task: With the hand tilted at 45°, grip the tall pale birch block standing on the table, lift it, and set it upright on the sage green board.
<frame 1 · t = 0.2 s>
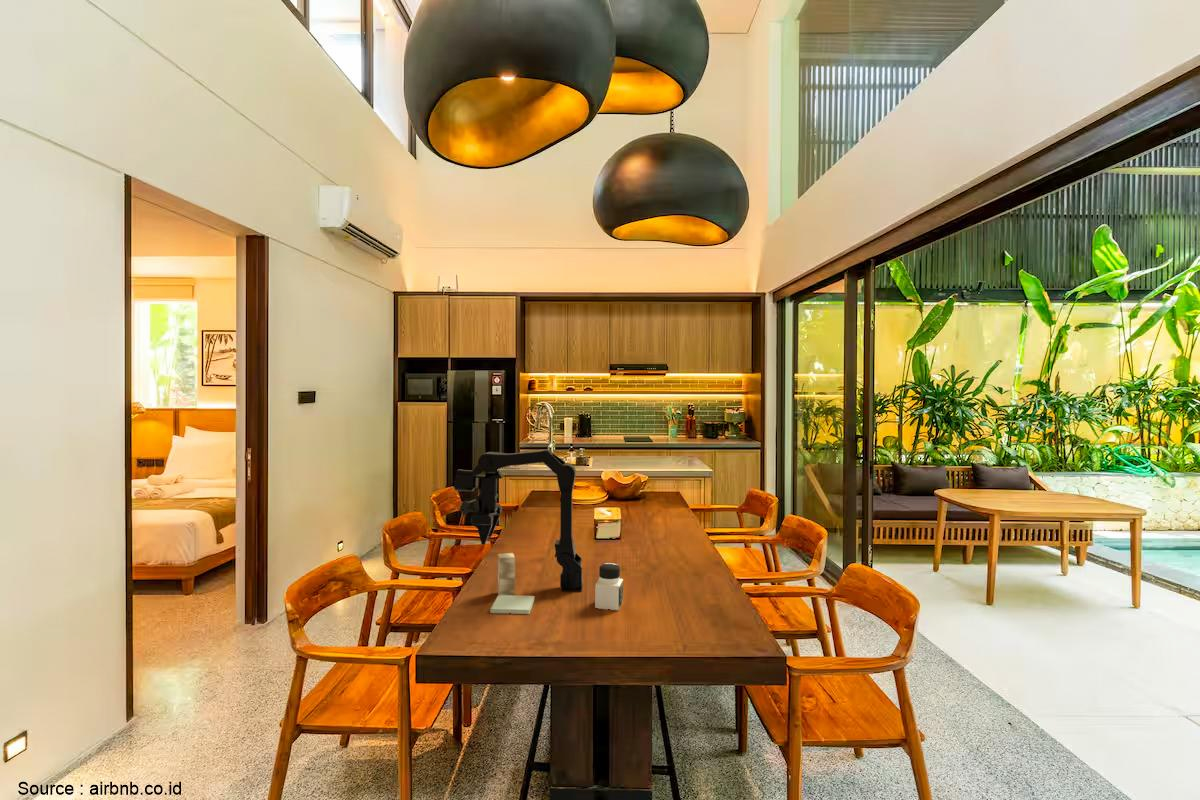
hand: (486, 540, 185), 15 cm above the table, tool pointing down, fingers open, 9 cm apart
medicine bottle: (609, 606, 171), on the table
birch block: (506, 594, 179), on the table
board: (513, 606, 169), on the table
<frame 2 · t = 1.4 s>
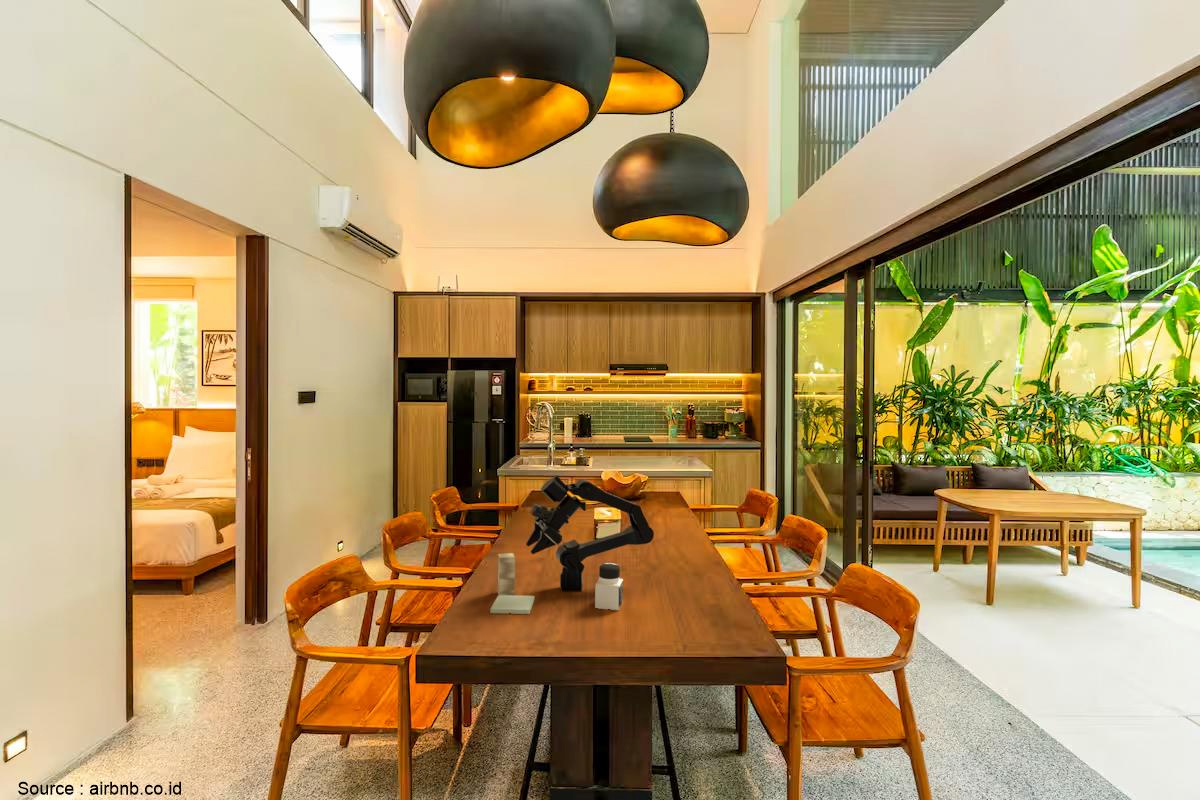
hand: (529, 549, 181), 13 cm above the table, tool tilted 45°, fingers open, 9 cm apart
nothing on the table moved.
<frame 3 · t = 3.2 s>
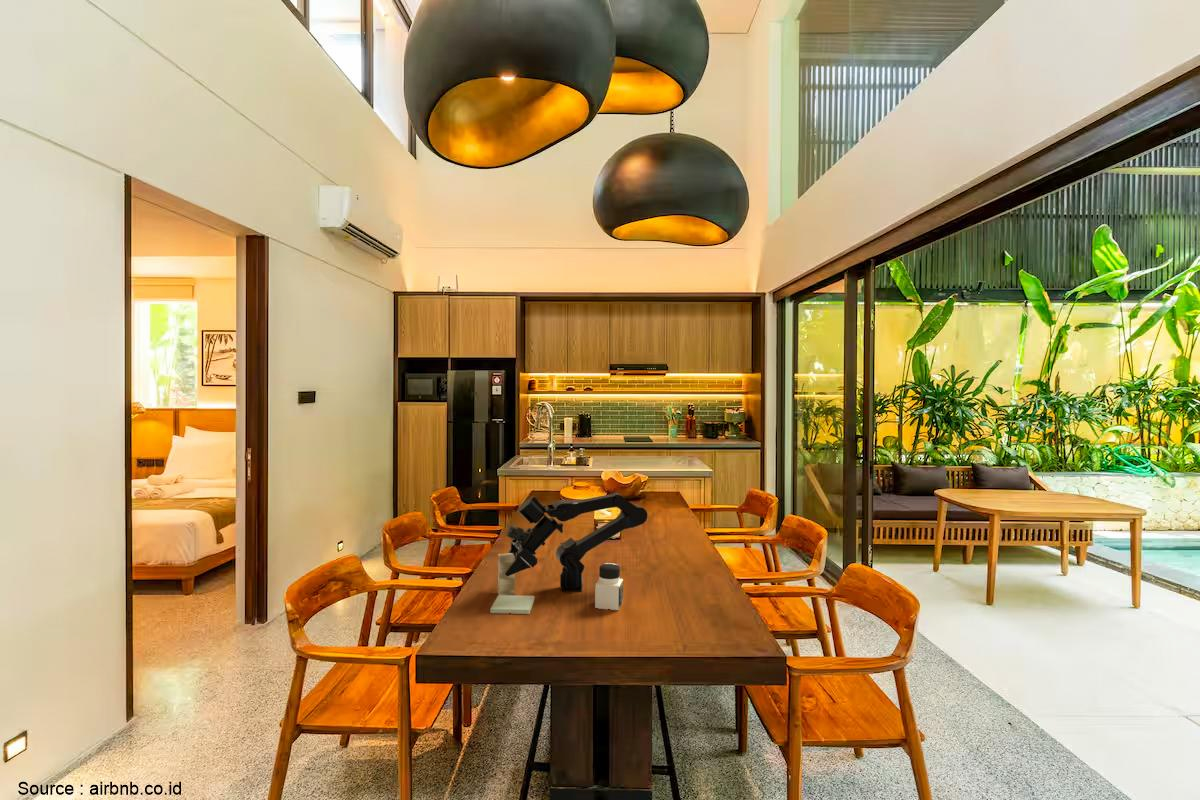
hand: (504, 570, 179), 7 cm above the table, tool tilted 45°, fingers open, 9 cm apart
nothing on the table moved.
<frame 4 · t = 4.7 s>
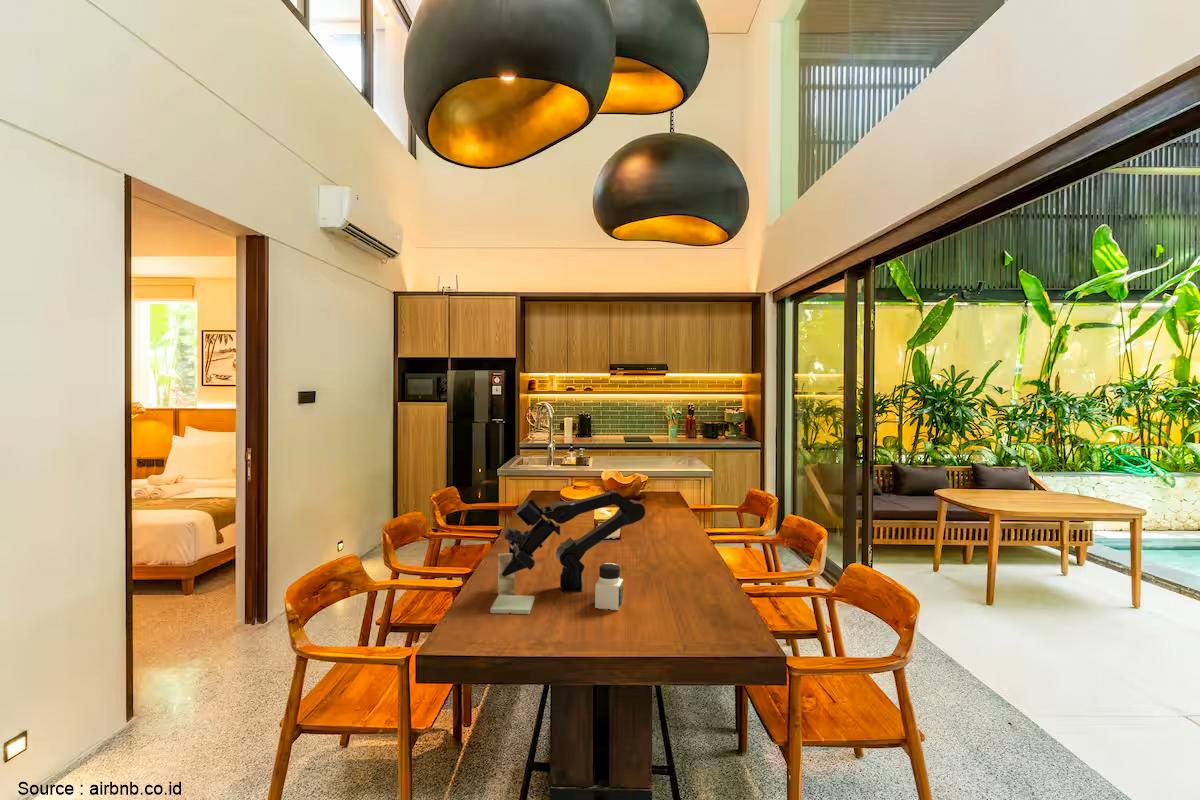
hand: (501, 573, 178), 7 cm above the table, tool tilted 45°, fingers closed on birch block, 5 cm apart
birch block: (506, 594, 179), on the table, touching gripper
everything else where it was.
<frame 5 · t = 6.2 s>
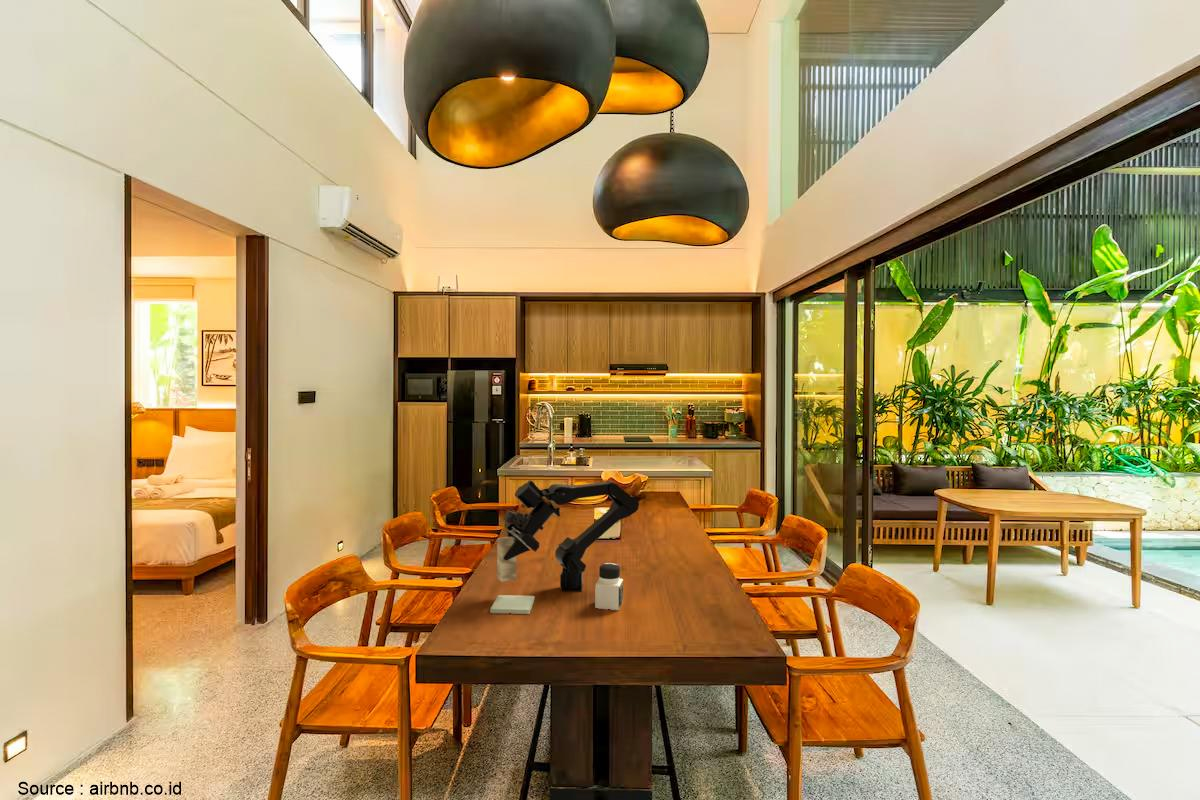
hand: (502, 557, 175), 13 cm above the table, tool tilted 45°, fingers closed on birch block, 5 cm apart
birch block: (506, 578, 175), point 6 cm above the table, touching gripper
everything else where it was.
when the fingers open (9 cm above the table, at t = 8.0 s): birch block drops 1 cm, resting on board.
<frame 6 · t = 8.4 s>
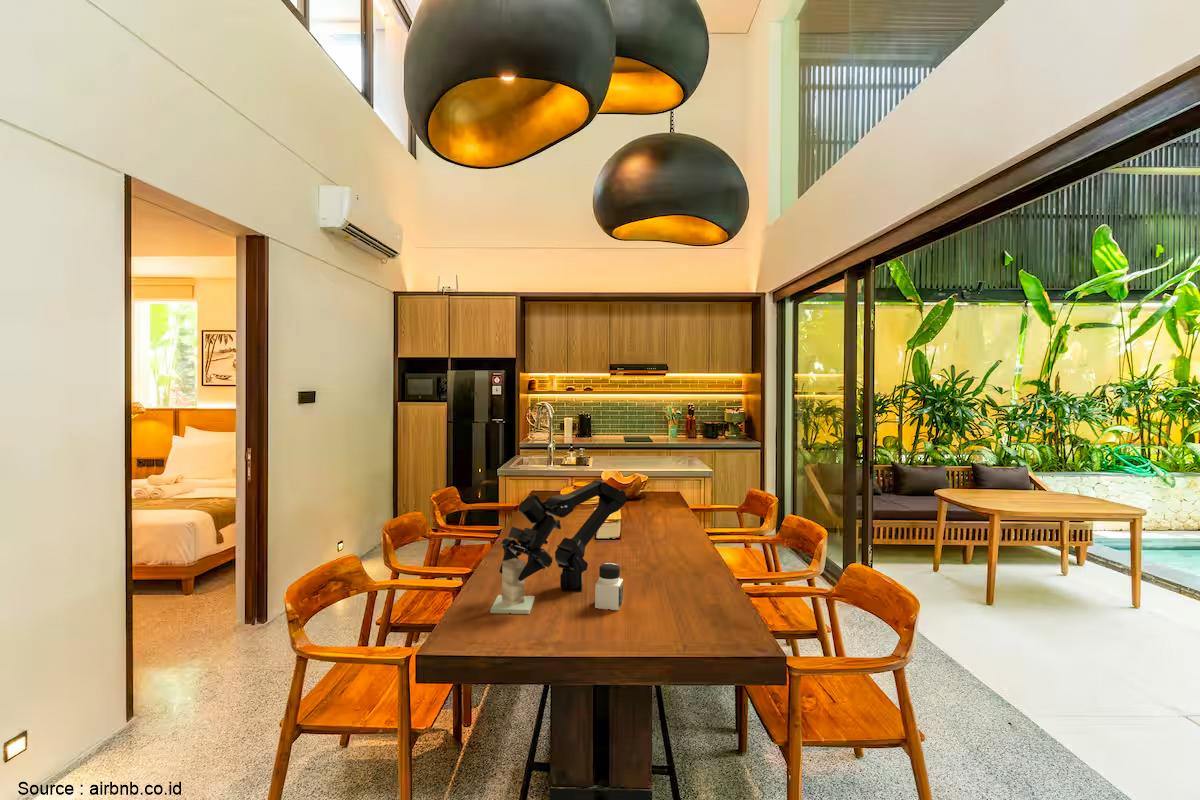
hand: (509, 576, 168), 9 cm above the table, tool tilted 45°, fingers open, 9 cm apart
birch block: (513, 602, 169), point 1 cm above the table, touching board
everything else where it was.
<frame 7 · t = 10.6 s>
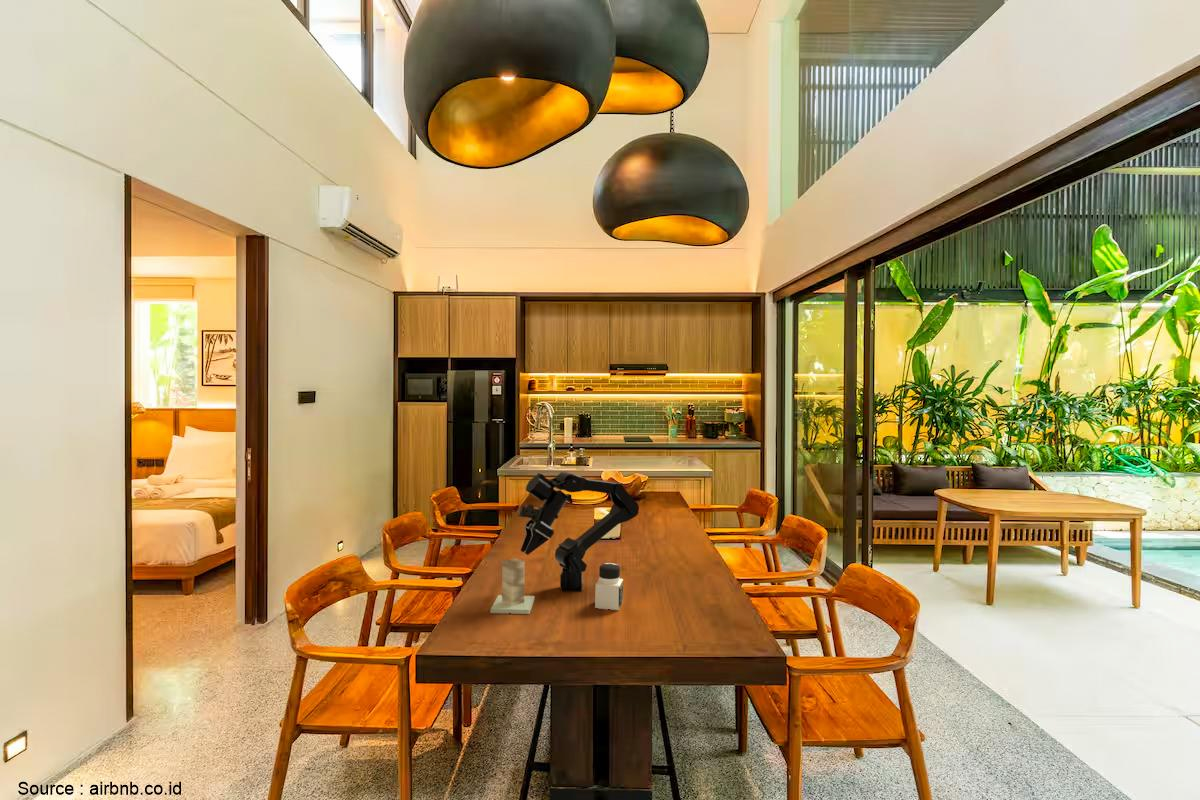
hand: (524, 552, 176), 14 cm above the table, tool tilted 35°, fingers open, 9 cm apart
nothing on the table moved.
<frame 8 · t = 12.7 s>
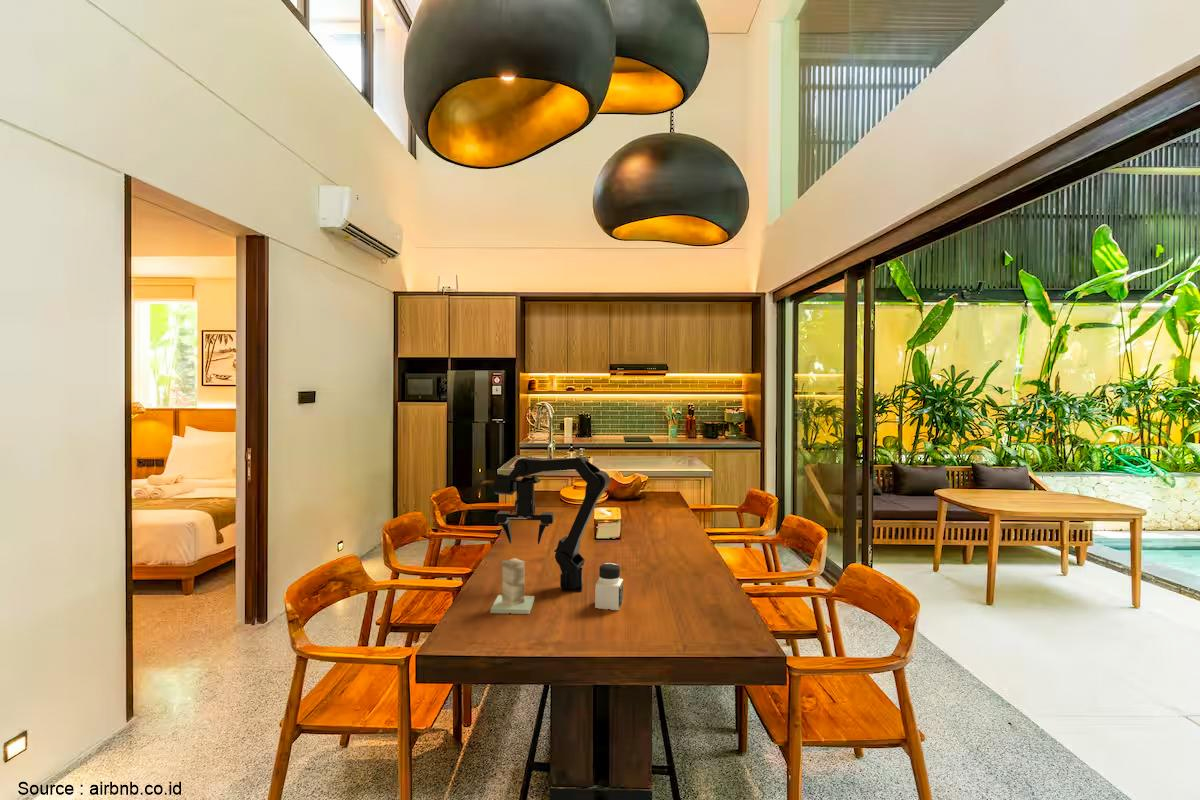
hand: (524, 543, 189), 13 cm above the table, tool pointing down, fingers open, 9 cm apart
nothing on the table moved.
at the end: birch block inside the target area on the board (0.0 cm from its centre), point 1.2 cm above the board's base; birch block tilted 0°; the gripper is holding nothing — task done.
